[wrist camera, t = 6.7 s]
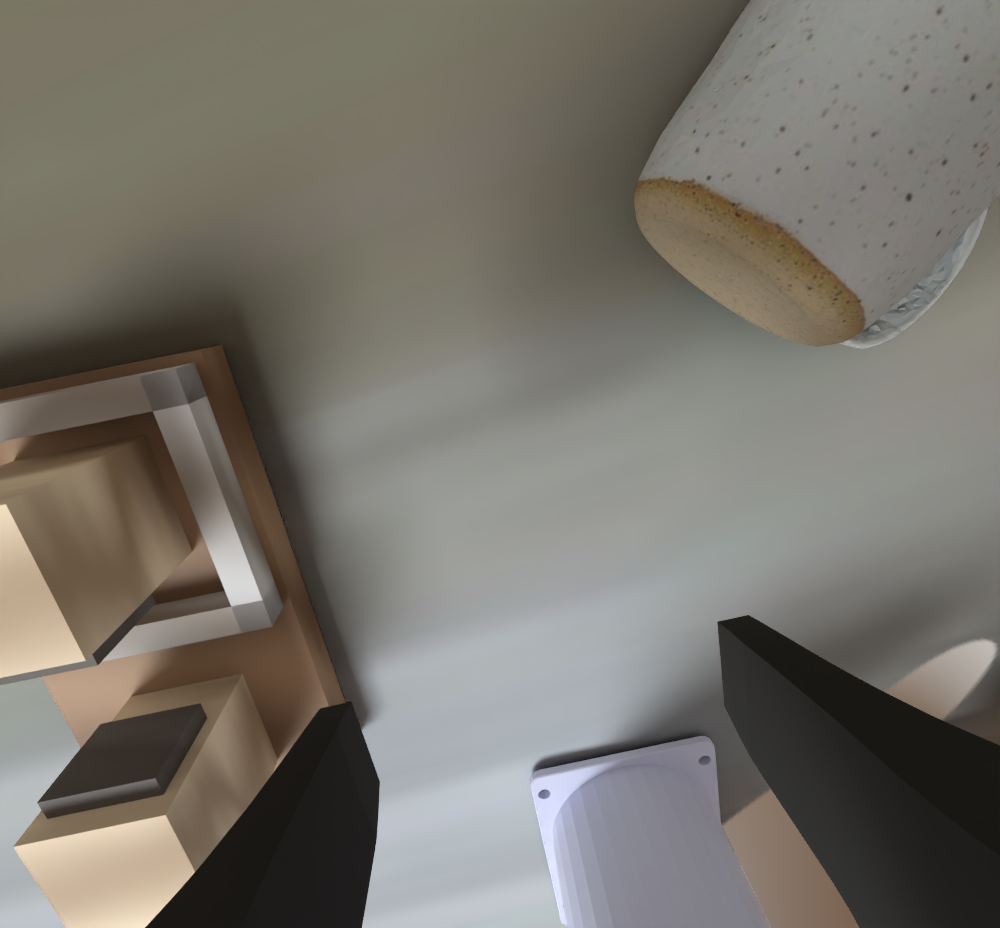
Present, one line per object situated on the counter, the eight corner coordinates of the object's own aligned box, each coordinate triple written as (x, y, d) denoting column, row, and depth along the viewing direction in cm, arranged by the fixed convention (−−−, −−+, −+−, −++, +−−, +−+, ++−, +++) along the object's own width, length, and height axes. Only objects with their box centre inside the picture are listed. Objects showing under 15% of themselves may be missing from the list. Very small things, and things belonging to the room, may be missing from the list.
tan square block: (13, 460, 17) (-186, 541, 12) (145, 434, 17) (5, 504, 12) (78, 591, 18) (-73, 715, 13) (198, 567, 18) (97, 681, 13)
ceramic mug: (584, 216, 17) (683, 174, 10) (757, -50, 15) (1031, -336, 8) (818, 398, 20) (1030, 469, 13) (990, 189, 18) (1352, 132, 11)
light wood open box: (357, 735, 23) (315, 922, 16) (139, 781, 23) (7, 988, 16) (221, 344, 18) (80, 383, 11) (-61, 401, 17) (-377, 474, 11)
